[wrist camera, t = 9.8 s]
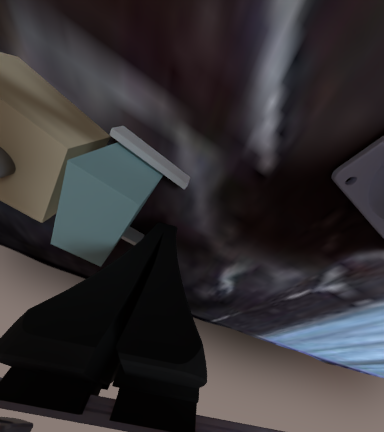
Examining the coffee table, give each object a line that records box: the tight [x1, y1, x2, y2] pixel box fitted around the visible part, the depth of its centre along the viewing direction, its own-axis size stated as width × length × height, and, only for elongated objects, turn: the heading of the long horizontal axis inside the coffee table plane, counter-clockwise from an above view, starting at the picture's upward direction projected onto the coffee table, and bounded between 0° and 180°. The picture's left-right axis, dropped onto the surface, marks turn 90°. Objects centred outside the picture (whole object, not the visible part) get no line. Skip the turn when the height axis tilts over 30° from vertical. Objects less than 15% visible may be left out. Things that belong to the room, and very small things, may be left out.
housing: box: [0, 52, 111, 223], centre depth 8 cm, size 5×6×4 cm
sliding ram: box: [51, 142, 163, 267], centre depth 9 cm, size 3×6×4 cm, turn 143°
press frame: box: [110, 126, 190, 245], centre depth 8 cm, size 15×9×4 cm, turn 53°
